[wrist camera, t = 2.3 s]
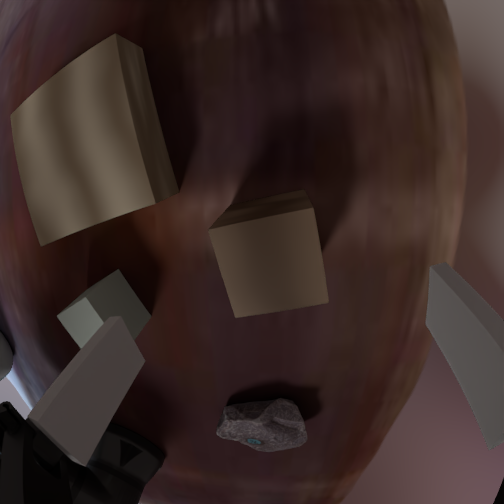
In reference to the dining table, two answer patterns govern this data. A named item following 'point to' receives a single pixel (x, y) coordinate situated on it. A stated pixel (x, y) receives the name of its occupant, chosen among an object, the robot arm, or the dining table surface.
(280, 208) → the walnut block
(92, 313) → the grey green cube
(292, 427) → the rock
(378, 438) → the dining table surface
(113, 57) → the plinth
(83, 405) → the robot arm
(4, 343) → the vase
